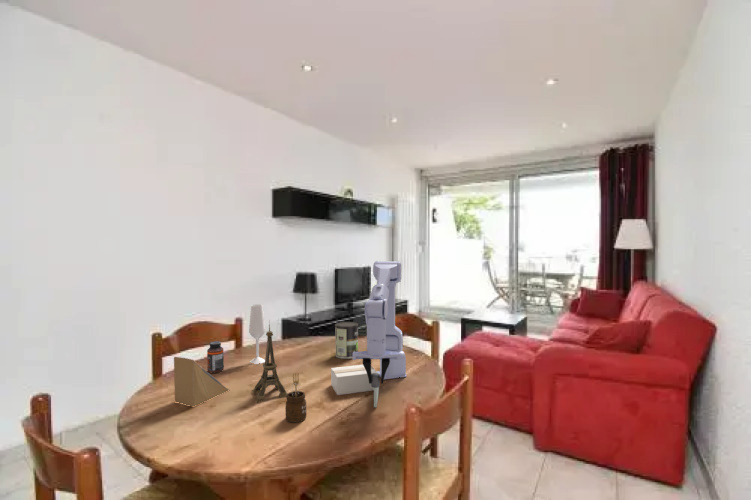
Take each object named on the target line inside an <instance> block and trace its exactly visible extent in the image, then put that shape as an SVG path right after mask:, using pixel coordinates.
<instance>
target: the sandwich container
mask: <svg viewBox="0 0 751 500" xmlns="http://www.w3.org/2000/svg"><path fill="white" fill-rule="evenodd" d="M173 372H174V373H173V376H174V377H173V378H174V379H173V380H174V381H173V383H174V386H173V387H174V402H175V401H176V402H179V403H183V404H186V405H190V406H195V405H198V404H200V403H202V402H204V401H207V400H209V399H211V398H213V397H215V396H217V395H219V396H221V395H223V394H225V393H227V392H229V391H230V389H229V388H228V387H226V386H225V385H224V384H223V383H221V382H220V381H219V380H218V379H217V378H215V376H213V375H212V374H211V373H209V372H208V370H206V369H205V368H203V366H201V365H200V364H198V363H197V362H196V361H195V360H194V359H192V358H186V357H180V356H174V357H173ZM228 390H229V391H228ZM226 391H227V392H226ZM224 392H225V393H224ZM222 393H223V394H222ZM220 394H221V395H220ZM217 397H218V396H217ZM215 398H216V397H215ZM213 399H214V398H213ZM211 400H212V399H211ZM209 401H210V400H209ZM207 402H208V401H207ZM202 404H203V403H202ZM200 405H201V404H200ZM198 406H199V405H198Z"/></svg>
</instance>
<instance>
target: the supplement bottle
mask: <svg viewBox="0 0 751 500" xmlns="http://www.w3.org/2000/svg"><path fill="white" fill-rule="evenodd" d="M206 354H207V355H206V357H207V362H206V364H207V365H206V366H207V370H206V371H207V372H208V373H209V372H218V373H220V372H219V371H221V372H222V370H223V371H224V369H225V365H224V362H225V361H224V358H225V357H224V354H225V353H224V347H222V342H221V341H218V340H217V341H211V342H210V343H209V347H208V349H207V351H206Z"/></svg>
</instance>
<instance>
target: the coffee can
mask: <svg viewBox="0 0 751 500" xmlns="http://www.w3.org/2000/svg"><path fill="white" fill-rule="evenodd" d="M334 326H335V327H334V328H335V335H334V336H335V338H334V339H335V357H336V358H338V359H343V360H344V359H345V360H347V359H348V360H349V359H353V352H359V323H357V322H356V321H355V322H353V321H342V322H341V321H340V322H336V323H335V324H334Z"/></svg>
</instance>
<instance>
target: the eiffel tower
mask: <svg viewBox="0 0 751 500" xmlns="http://www.w3.org/2000/svg"><path fill="white" fill-rule="evenodd" d="M270 322H271V319H269V322H268V323H269V324H268V331H266V333H265V335H266V337H267V338H266V339H267V340H266V350H265V359H264V360H265V362H264V363H262V367H263V371H262V374H261V375H260V378H259V380H258V382H257V383H256V384H255V386H254V388H253V389H251V393H252V394H257V395H256V397H255V398H254V400H255V403H261V402H265V401H266V400H265V393H266V389H267V388H268V387H269V386H274V388H275V389H276V390H278V392H279V393H278V395H279V397H280V398H281V399H284V398H287V394H288V393H289V392H287V390H286V389H285V386H284V385H283V383H282V382H281V381H280V377H279V375H278V372H277V367H278V365H277V363H276V362H275V355H274V348H273V347H274V346H273V337H272V336H274V333H273V331H271V325H270V324H271V323H270ZM269 371H270V372H271V371H272V374H269Z"/></svg>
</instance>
